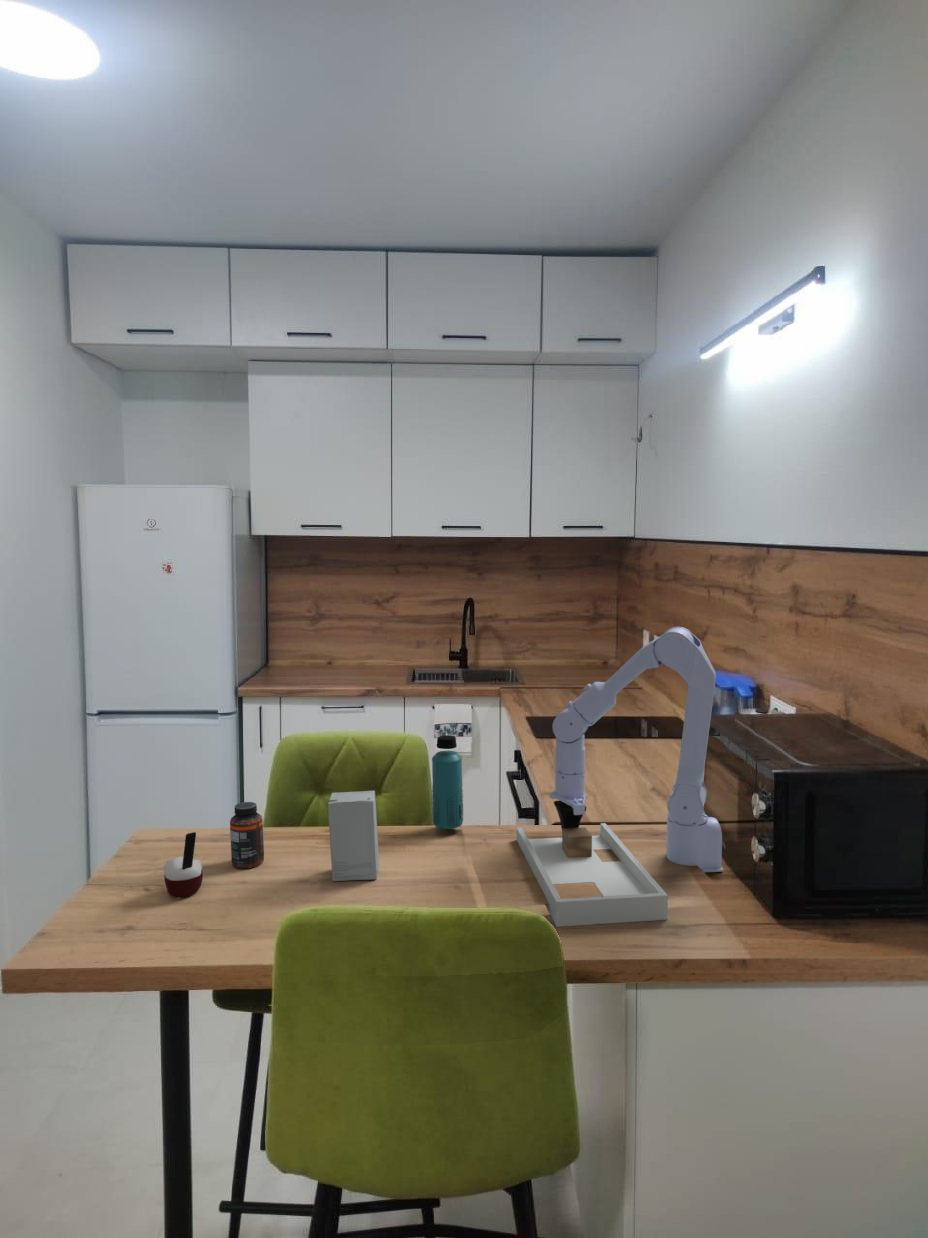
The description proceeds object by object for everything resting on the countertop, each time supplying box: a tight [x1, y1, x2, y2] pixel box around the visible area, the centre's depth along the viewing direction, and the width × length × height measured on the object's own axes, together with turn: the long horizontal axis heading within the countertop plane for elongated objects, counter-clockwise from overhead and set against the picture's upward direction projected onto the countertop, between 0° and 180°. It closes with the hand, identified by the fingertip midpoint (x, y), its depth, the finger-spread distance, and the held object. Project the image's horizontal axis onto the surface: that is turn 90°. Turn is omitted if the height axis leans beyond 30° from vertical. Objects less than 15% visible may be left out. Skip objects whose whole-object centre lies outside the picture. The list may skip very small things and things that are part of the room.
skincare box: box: [327, 790, 380, 882], centre depth 143 cm, size 8×6×15 cm
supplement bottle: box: [229, 801, 265, 869], centre depth 149 cm, size 6×6×11 cm
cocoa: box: [163, 831, 204, 899], centre depth 135 cm, size 10×6×12 cm, turn 16°
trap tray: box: [516, 822, 669, 928], centre depth 141 cm, size 18×33×4 cm, turn 7°
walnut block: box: [561, 826, 593, 858], centre depth 149 cm, size 4×4×4 cm
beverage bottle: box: [431, 735, 464, 830], centre depth 165 cm, size 6×7×20 cm
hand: (569, 838), depth 155 cm, fingers closed
